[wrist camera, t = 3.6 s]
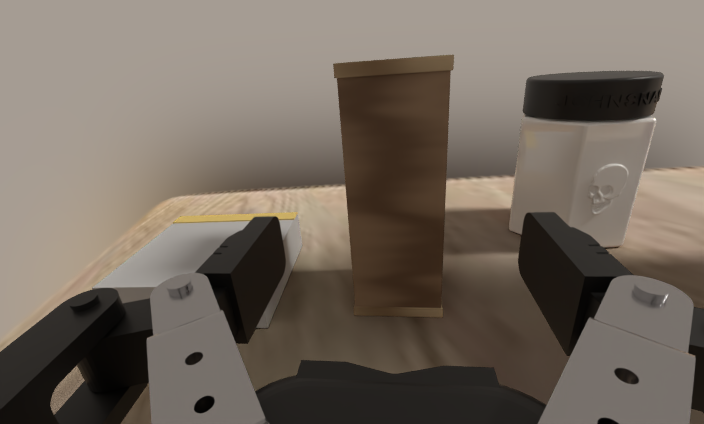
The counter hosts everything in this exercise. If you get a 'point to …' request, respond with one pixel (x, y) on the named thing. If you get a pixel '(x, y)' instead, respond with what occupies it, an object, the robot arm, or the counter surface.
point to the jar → (585, 149)
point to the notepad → (195, 255)
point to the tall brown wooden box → (396, 180)
